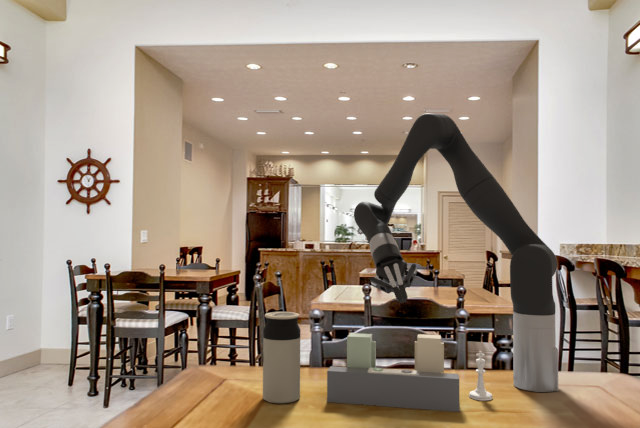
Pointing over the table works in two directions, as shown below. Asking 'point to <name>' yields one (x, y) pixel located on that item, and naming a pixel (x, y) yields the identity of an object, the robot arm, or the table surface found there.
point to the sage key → (361, 351)
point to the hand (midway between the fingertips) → (403, 300)
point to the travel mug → (281, 358)
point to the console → (393, 388)
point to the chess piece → (480, 382)
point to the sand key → (429, 353)
